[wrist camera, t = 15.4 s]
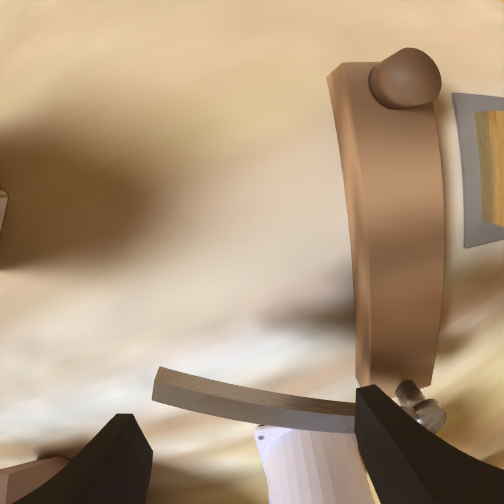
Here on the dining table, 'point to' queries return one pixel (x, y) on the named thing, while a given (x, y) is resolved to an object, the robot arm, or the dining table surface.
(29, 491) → the brown round pot
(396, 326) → the body
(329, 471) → the robot arm
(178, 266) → the dining table surface
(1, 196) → the coffee box
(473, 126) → the mat
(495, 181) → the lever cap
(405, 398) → the lever
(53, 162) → the dining table surface
